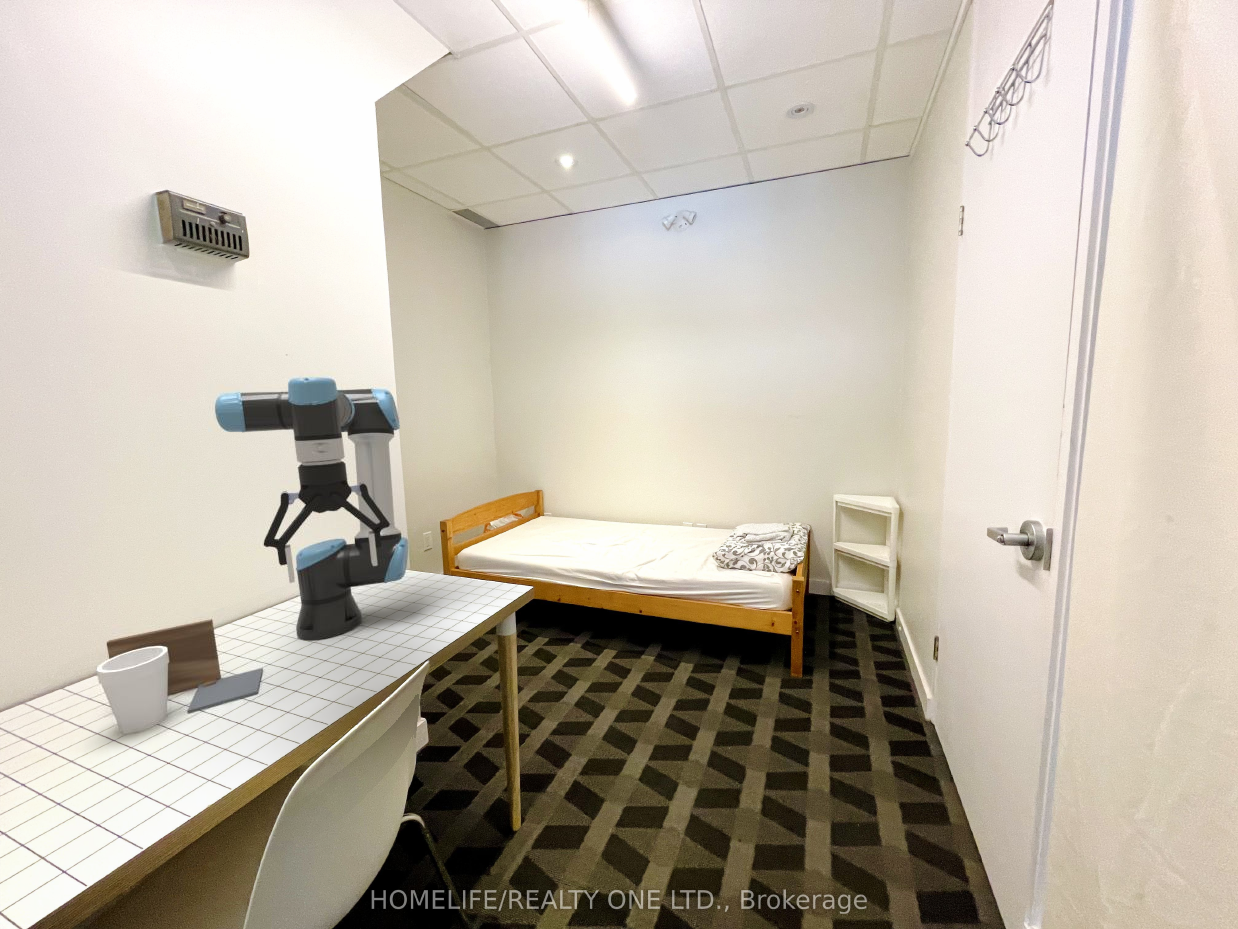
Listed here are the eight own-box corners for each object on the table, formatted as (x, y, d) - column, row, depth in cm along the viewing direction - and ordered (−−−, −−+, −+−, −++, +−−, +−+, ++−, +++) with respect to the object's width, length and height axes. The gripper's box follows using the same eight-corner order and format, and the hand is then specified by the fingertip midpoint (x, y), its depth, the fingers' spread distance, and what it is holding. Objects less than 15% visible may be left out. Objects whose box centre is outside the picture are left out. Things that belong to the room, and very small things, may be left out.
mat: (199, 687, 102) (199, 684, 102) (262, 670, 108) (262, 667, 108) (187, 713, 93) (187, 710, 93) (257, 693, 99) (257, 691, 99)
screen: (123, 700, 98) (112, 636, 96) (222, 675, 106) (213, 615, 105) (114, 713, 94) (102, 646, 92) (218, 685, 102) (209, 624, 101)
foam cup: (189, 711, 93) (179, 649, 92) (128, 743, 85) (115, 675, 83) (159, 703, 97) (148, 643, 95) (97, 733, 88) (85, 668, 86)
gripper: (233, 471, 78) (251, 595, 81) (398, 457, 92) (408, 562, 94) (238, 467, 84) (254, 582, 87) (391, 454, 98) (401, 553, 101)
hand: (335, 572), depth 91 cm, fingers open, 13 cm apart
